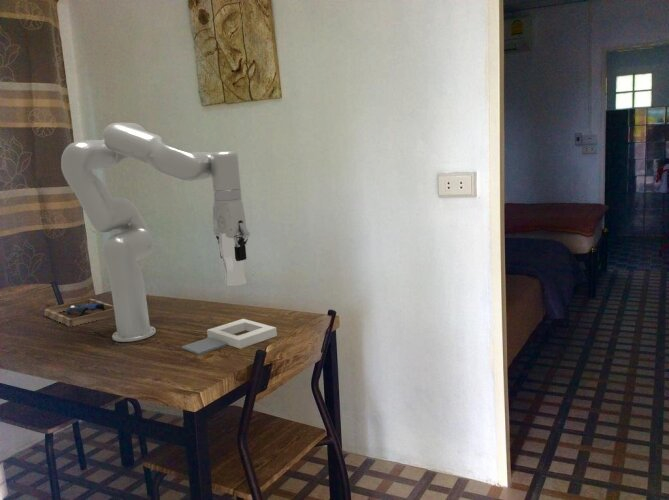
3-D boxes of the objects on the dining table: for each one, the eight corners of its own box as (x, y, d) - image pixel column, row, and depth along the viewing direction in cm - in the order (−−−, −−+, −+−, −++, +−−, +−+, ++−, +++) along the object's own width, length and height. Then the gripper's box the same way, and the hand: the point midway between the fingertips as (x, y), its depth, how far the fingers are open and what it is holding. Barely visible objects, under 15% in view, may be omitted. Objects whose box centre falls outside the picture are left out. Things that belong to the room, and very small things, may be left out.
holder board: (207, 338, 177) (206, 329, 177) (244, 326, 186) (243, 318, 186) (240, 348, 166) (239, 340, 165) (276, 335, 175) (276, 327, 174)
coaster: (181, 348, 170) (181, 346, 170) (209, 339, 176) (209, 337, 176) (199, 354, 163) (198, 352, 163) (227, 345, 169) (226, 343, 169)
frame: (44, 315, 216) (43, 309, 215) (91, 304, 227) (90, 298, 227) (70, 327, 199) (69, 320, 198) (120, 314, 210) (119, 307, 210)
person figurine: (60, 322, 214) (91, 319, 204) (57, 309, 213) (88, 306, 203) (86, 313, 223) (118, 310, 213) (83, 301, 222) (115, 298, 212)
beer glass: (243, 286, 169) (238, 233, 166) (219, 286, 171) (214, 233, 168) (251, 280, 176) (246, 229, 173) (228, 280, 177) (223, 229, 175)
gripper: (199, 196, 172) (205, 258, 175) (234, 198, 160) (240, 264, 163) (221, 194, 177) (226, 253, 181) (257, 195, 165) (262, 259, 168)
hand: (233, 258), depth 172 cm, fingers closed on beer glass, 6 cm apart
